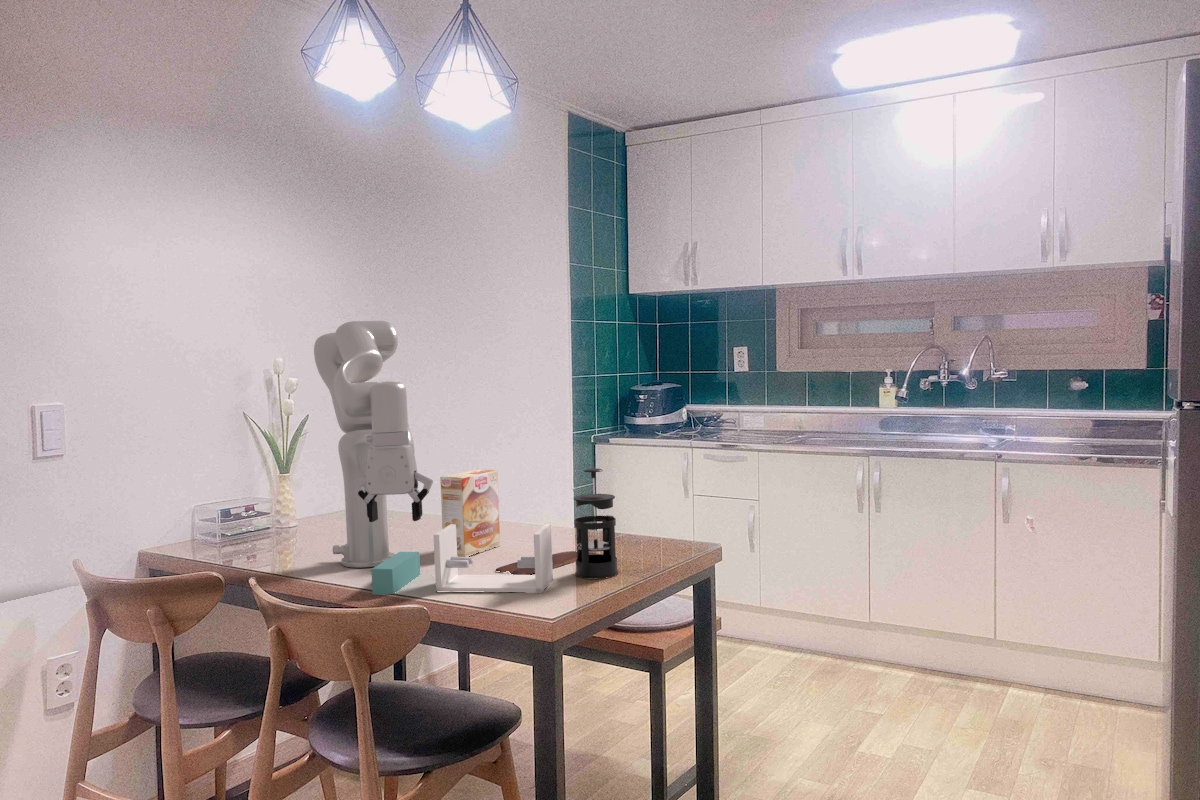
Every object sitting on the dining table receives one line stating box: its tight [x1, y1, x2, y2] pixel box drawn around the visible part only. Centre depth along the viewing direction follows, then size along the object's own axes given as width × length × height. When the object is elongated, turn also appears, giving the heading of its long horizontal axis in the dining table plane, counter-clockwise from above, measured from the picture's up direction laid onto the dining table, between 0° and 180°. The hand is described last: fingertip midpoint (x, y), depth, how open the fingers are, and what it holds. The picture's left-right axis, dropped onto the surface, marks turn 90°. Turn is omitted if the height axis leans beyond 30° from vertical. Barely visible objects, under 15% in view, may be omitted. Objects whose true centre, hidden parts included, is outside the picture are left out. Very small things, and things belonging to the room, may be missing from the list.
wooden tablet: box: [495, 550, 597, 575], centre depth 208 cm, size 26×2×10 cm
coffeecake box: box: [439, 468, 501, 557], centre depth 223 cm, size 15×7×20 cm, turn 151°
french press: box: [573, 467, 619, 579], centre depth 196 cm, size 12×9×23 cm
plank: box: [370, 551, 421, 595], centre depth 193 cm, size 16×4×6 cm, turn 172°
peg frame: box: [433, 523, 554, 594], centre depth 188 cm, size 22×11×12 cm, turn 81°
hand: (395, 520), depth 192 cm, fingers open, 9 cm apart
